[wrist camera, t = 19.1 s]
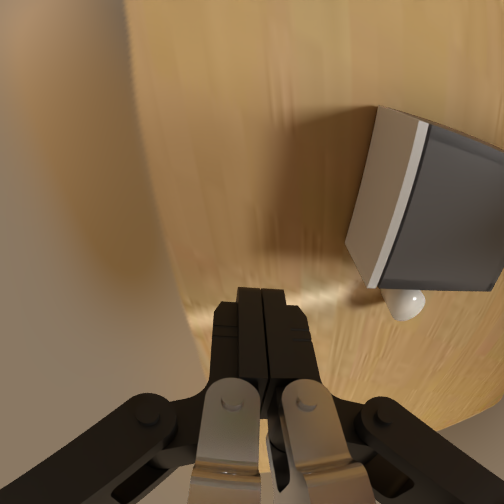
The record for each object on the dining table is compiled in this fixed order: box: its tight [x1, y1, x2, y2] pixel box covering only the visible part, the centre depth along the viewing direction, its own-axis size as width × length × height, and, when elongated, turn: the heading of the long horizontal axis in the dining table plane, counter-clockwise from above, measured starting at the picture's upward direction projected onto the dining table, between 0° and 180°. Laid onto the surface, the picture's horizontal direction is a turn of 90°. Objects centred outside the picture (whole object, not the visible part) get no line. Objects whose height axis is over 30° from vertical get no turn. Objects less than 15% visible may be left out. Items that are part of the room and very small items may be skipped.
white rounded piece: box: [381, 289, 425, 321], centre depth 31 cm, size 4×4×4 cm
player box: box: [377, 108, 504, 291], centre depth 23 cm, size 14×13×7 cm
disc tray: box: [345, 105, 429, 288], centre depth 23 cm, size 14×13×7 cm
